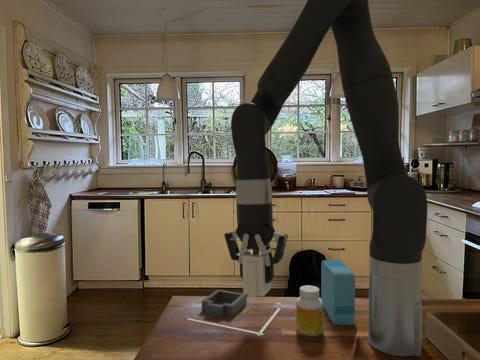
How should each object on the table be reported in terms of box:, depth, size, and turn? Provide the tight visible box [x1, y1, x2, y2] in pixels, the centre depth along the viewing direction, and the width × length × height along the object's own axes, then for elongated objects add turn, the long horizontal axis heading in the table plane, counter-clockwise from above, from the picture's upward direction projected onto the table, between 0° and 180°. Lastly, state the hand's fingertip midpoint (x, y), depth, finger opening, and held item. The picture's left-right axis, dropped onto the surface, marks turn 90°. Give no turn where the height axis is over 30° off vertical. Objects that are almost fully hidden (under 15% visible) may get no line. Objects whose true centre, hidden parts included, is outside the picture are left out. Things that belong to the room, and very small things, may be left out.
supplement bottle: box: [295, 285, 324, 337], centre depth 72 cm, size 5×5×10 cm
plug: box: [242, 249, 272, 298], centre depth 73 cm, size 4×6×10 cm
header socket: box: [201, 289, 251, 319], centre depth 83 cm, size 10×9×2 cm
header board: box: [186, 307, 281, 337], centre depth 80 cm, size 18×14×1 cm
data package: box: [320, 259, 356, 326], centre depth 80 cm, size 12×4×12 cm, turn 0°
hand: (256, 280), depth 74 cm, fingers closed on plug, 4 cm apart
